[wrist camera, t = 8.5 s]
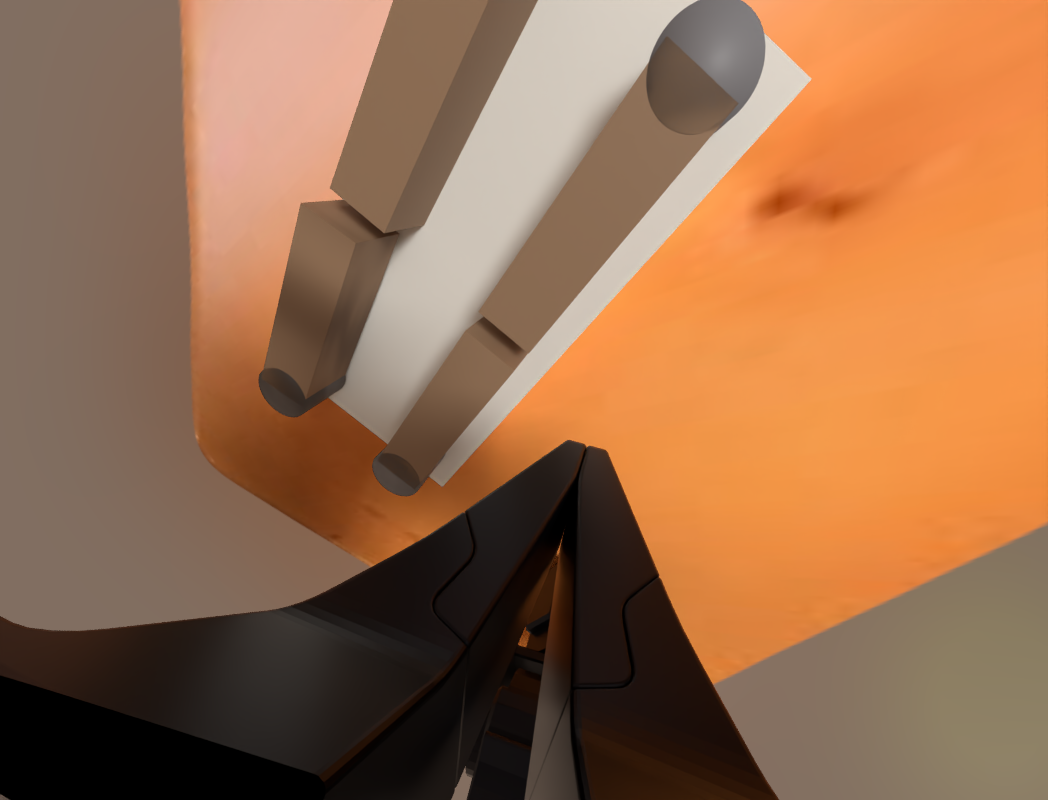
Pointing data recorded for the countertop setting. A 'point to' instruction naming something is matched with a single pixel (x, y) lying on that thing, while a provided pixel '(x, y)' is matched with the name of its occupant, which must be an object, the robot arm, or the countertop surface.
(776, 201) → the countertop surface
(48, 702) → the robot arm
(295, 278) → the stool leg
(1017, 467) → the countertop surface
